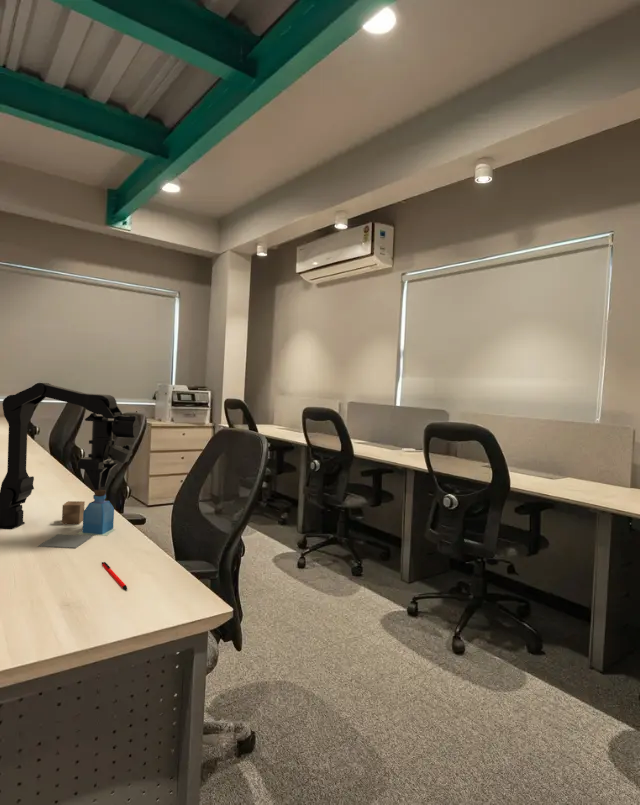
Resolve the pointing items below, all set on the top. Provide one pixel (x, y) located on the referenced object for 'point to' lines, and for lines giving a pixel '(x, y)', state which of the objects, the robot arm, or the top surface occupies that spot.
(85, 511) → the perfume bottle
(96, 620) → the top surface
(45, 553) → the top surface
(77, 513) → the walnut block
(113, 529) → the code mat
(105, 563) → the pen
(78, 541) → the slate coaster
